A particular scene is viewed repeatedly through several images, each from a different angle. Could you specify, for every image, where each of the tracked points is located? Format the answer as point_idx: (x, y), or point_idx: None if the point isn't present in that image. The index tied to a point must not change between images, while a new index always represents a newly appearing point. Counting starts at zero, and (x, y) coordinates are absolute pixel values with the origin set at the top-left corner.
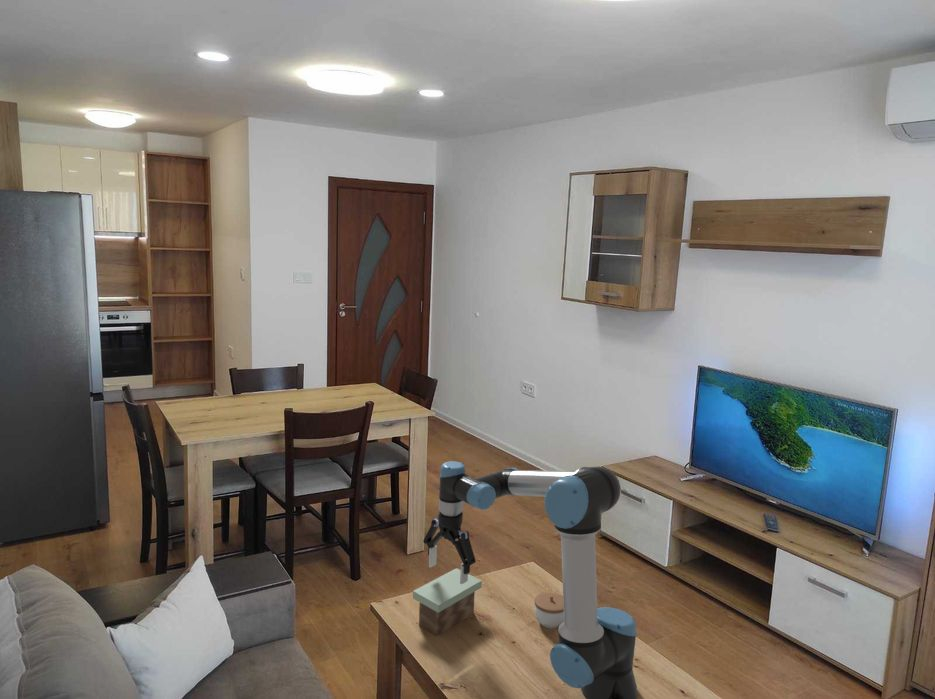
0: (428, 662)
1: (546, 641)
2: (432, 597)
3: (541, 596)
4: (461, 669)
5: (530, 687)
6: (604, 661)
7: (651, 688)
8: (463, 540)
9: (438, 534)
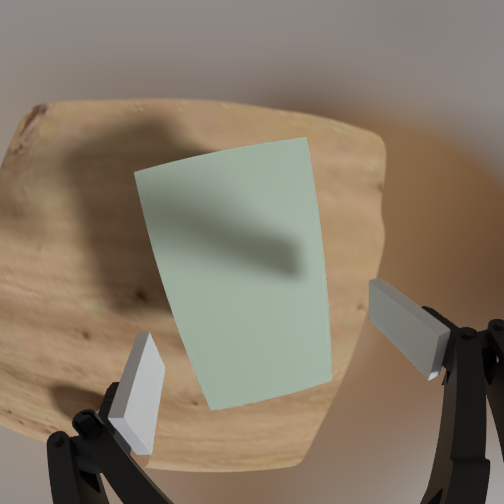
0: (111, 111)
1: (71, 380)
2: (204, 181)
3: (133, 453)
4: (52, 173)
5: None
6: None
7: None
8: None
9: (474, 485)
